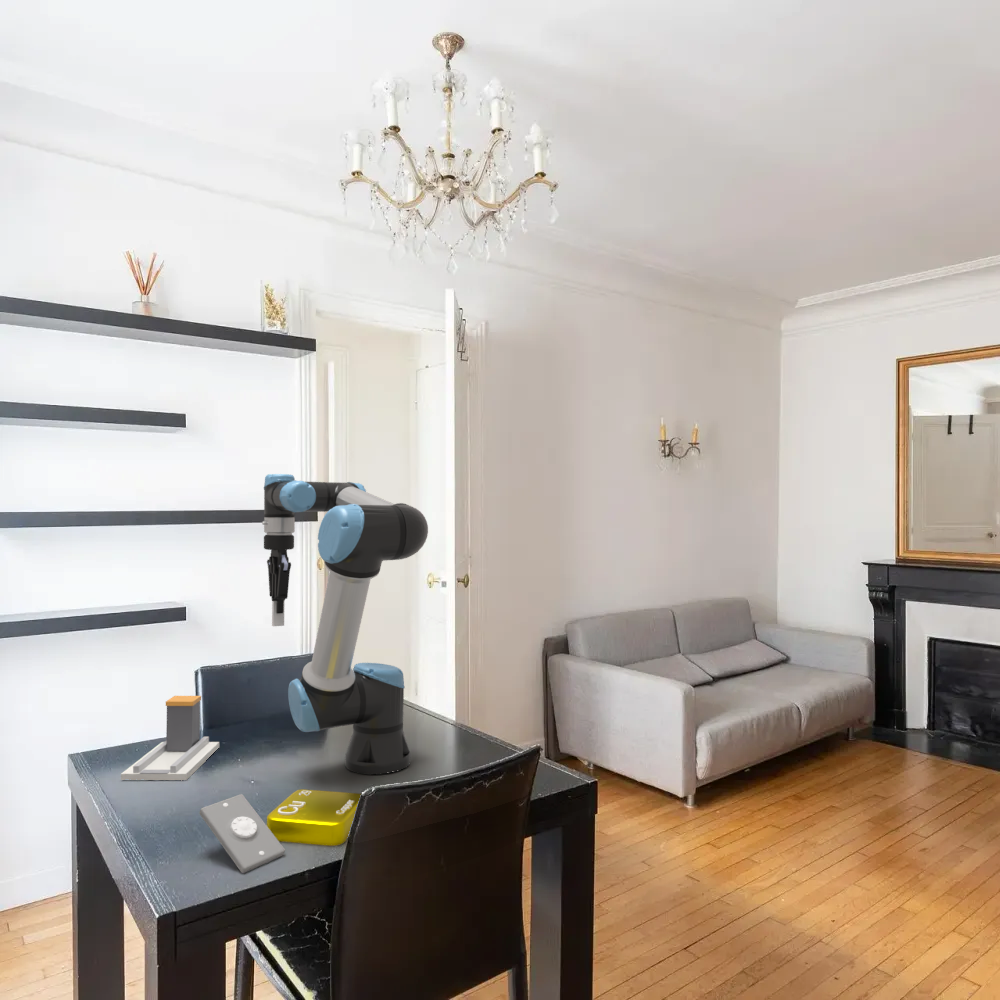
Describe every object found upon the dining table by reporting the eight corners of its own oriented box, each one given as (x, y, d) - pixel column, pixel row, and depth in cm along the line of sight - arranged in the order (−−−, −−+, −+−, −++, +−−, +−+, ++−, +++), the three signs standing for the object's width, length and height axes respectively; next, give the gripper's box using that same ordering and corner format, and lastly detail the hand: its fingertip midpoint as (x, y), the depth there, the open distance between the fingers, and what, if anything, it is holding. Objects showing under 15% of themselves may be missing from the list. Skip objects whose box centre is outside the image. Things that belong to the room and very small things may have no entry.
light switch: (246, 865, 126) (201, 804, 133) (235, 891, 127) (192, 829, 135) (288, 846, 133) (243, 789, 140) (277, 871, 134) (234, 813, 142)
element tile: (340, 849, 136) (341, 822, 136) (262, 842, 139) (262, 815, 139) (368, 815, 151) (368, 791, 151) (296, 809, 154) (297, 785, 154)
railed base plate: (185, 780, 167) (186, 766, 167) (120, 780, 166) (121, 766, 166) (219, 748, 189) (219, 735, 189) (161, 747, 188) (162, 735, 188)
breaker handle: (192, 751, 181) (193, 701, 181) (165, 751, 181) (165, 701, 181) (200, 744, 187) (201, 695, 187) (173, 744, 186) (174, 695, 186)
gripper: (257, 533, 200) (256, 623, 200) (271, 535, 189) (270, 630, 189) (285, 532, 204) (284, 621, 204) (301, 534, 193) (300, 628, 193)
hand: (278, 625), depth 196 cm, fingers closed
